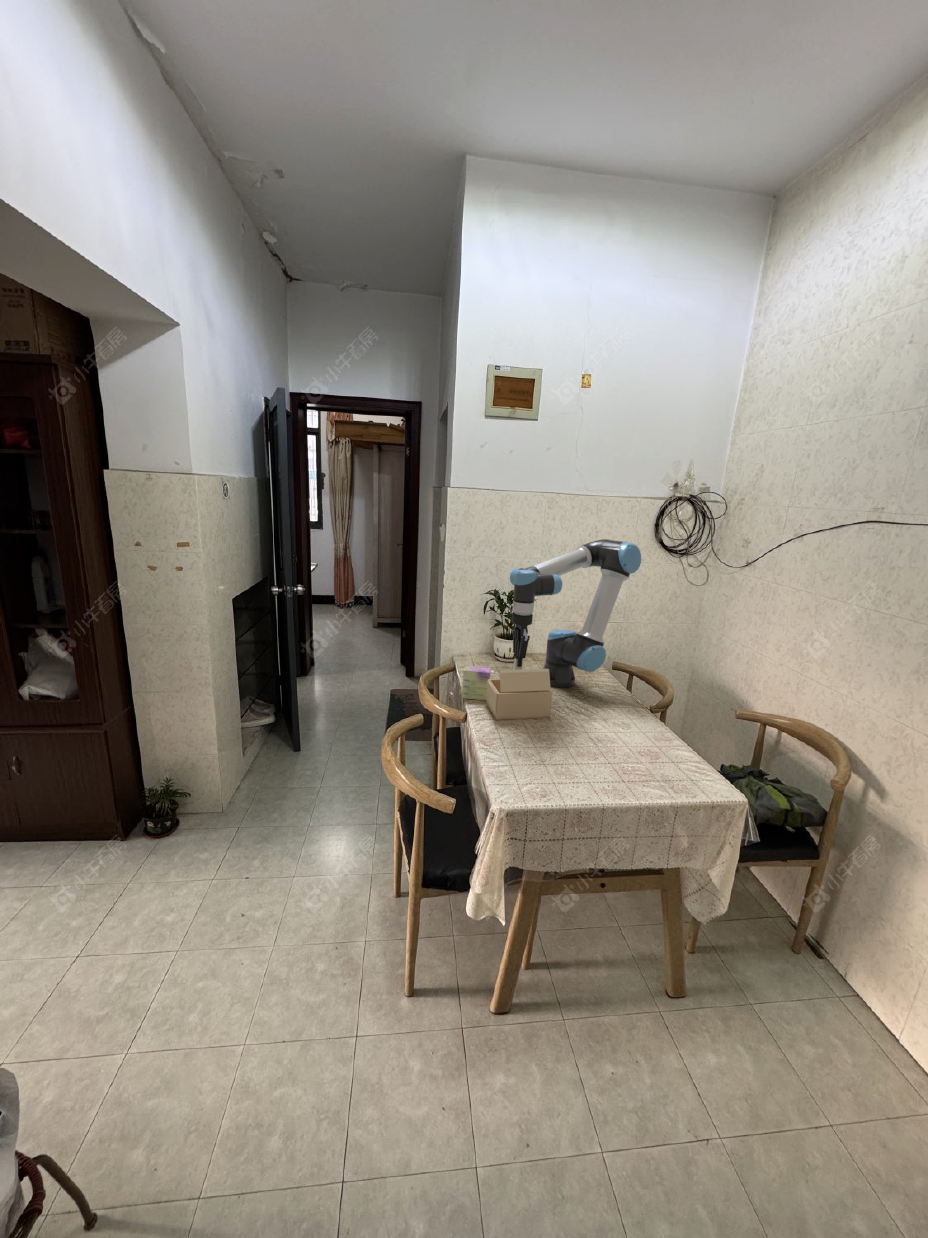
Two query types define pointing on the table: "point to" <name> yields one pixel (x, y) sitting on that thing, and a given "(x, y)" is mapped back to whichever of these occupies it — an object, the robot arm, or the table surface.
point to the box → (475, 682)
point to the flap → (524, 680)
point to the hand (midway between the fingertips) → (517, 673)
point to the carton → (517, 702)
